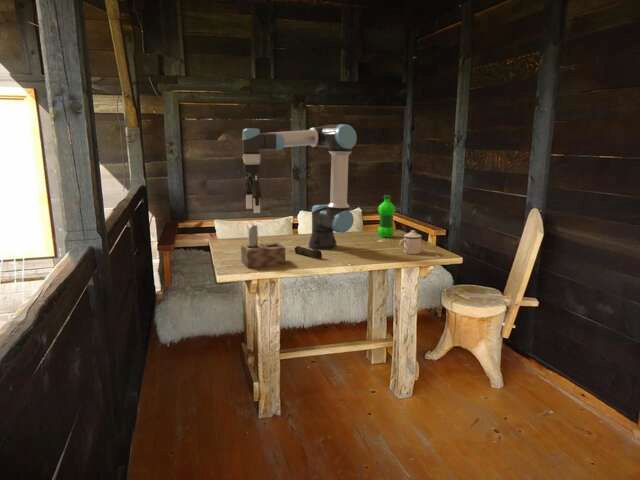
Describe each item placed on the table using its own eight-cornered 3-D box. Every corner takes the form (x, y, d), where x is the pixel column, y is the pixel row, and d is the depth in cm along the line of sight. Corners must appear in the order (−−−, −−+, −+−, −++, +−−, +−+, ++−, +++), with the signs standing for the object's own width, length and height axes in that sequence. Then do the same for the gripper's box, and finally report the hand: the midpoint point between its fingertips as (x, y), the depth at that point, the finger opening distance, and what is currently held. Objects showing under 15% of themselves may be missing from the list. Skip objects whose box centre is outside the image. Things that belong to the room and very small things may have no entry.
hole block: (277, 258, 235) (277, 242, 233) (285, 264, 224) (285, 247, 222) (241, 261, 228) (240, 244, 226) (247, 268, 217) (247, 250, 215)
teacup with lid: (415, 250, 255) (416, 228, 253) (424, 253, 247) (425, 231, 244) (395, 251, 252) (396, 229, 249) (403, 255, 243) (404, 232, 241)
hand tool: (294, 253, 246) (294, 245, 245) (300, 252, 248) (300, 243, 247) (317, 261, 232) (317, 251, 231) (323, 259, 234) (323, 250, 233)
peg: (256, 258, 226) (256, 225, 223) (259, 260, 223) (258, 226, 219) (248, 259, 225) (247, 225, 222) (250, 261, 221) (249, 227, 218)
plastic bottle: (374, 235, 292) (375, 194, 287) (390, 235, 295) (392, 194, 290) (380, 239, 283) (381, 196, 278) (397, 238, 285) (398, 196, 280)
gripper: (237, 162, 224) (238, 207, 229) (250, 165, 202) (252, 215, 206) (252, 162, 227) (254, 206, 232) (267, 165, 205) (268, 214, 209)
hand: (253, 210), depth 219 cm, fingers open, 13 cm apart
